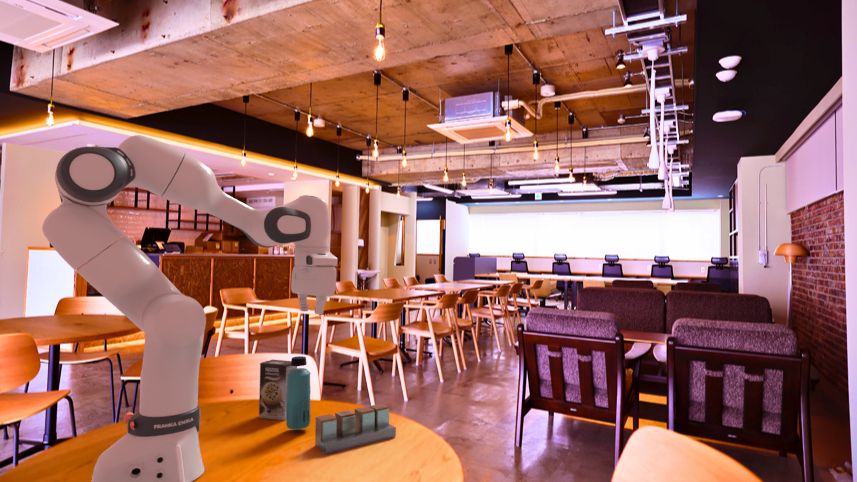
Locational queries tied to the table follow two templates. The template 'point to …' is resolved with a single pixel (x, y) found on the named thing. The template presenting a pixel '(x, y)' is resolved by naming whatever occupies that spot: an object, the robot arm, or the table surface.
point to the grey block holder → (368, 429)
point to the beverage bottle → (298, 395)
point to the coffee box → (274, 389)
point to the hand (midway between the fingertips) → (311, 312)
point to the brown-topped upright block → (345, 423)
